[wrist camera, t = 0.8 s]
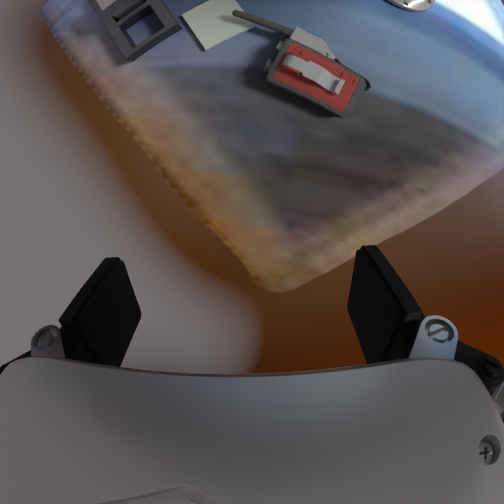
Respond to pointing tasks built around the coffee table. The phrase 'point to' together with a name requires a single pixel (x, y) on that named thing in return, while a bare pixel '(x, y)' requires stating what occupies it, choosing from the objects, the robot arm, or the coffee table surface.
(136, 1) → the steel block
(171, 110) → the coffee table surface
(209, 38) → the sage mat
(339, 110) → the walkie-talkie
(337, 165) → the coffee table surface
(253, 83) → the coffee table surface
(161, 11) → the grey flat frame
